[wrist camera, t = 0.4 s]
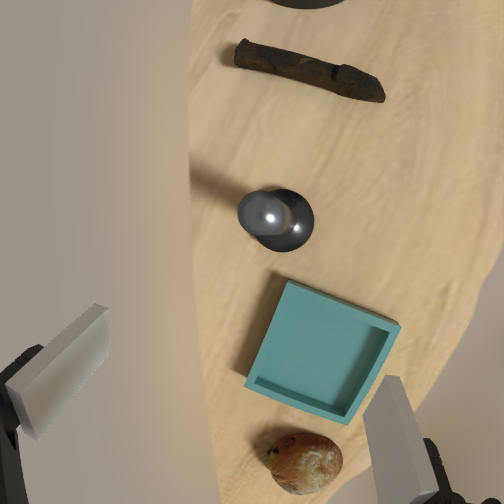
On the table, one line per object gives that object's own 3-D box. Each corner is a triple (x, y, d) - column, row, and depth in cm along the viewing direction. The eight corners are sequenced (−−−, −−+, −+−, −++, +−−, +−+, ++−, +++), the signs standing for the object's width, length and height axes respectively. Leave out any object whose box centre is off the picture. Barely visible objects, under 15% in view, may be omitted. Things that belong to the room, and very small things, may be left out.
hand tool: (236, 71, 37) (226, 54, 33) (249, 48, 37) (240, 30, 32) (375, 121, 34) (381, 107, 30) (385, 96, 34) (392, 80, 29)
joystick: (266, 182, 37) (232, 153, 23) (322, 203, 36) (322, 183, 22) (245, 238, 38) (199, 241, 24) (301, 260, 37) (287, 277, 23)
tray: (289, 279, 37) (287, 282, 35) (397, 321, 35) (401, 327, 32) (248, 378, 39) (243, 386, 37) (346, 416, 36) (347, 425, 34)
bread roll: (307, 469, 42) (323, 505, 34) (250, 463, 39) (261, 505, 31) (342, 428, 40) (364, 465, 33) (283, 419, 38) (301, 463, 30)
